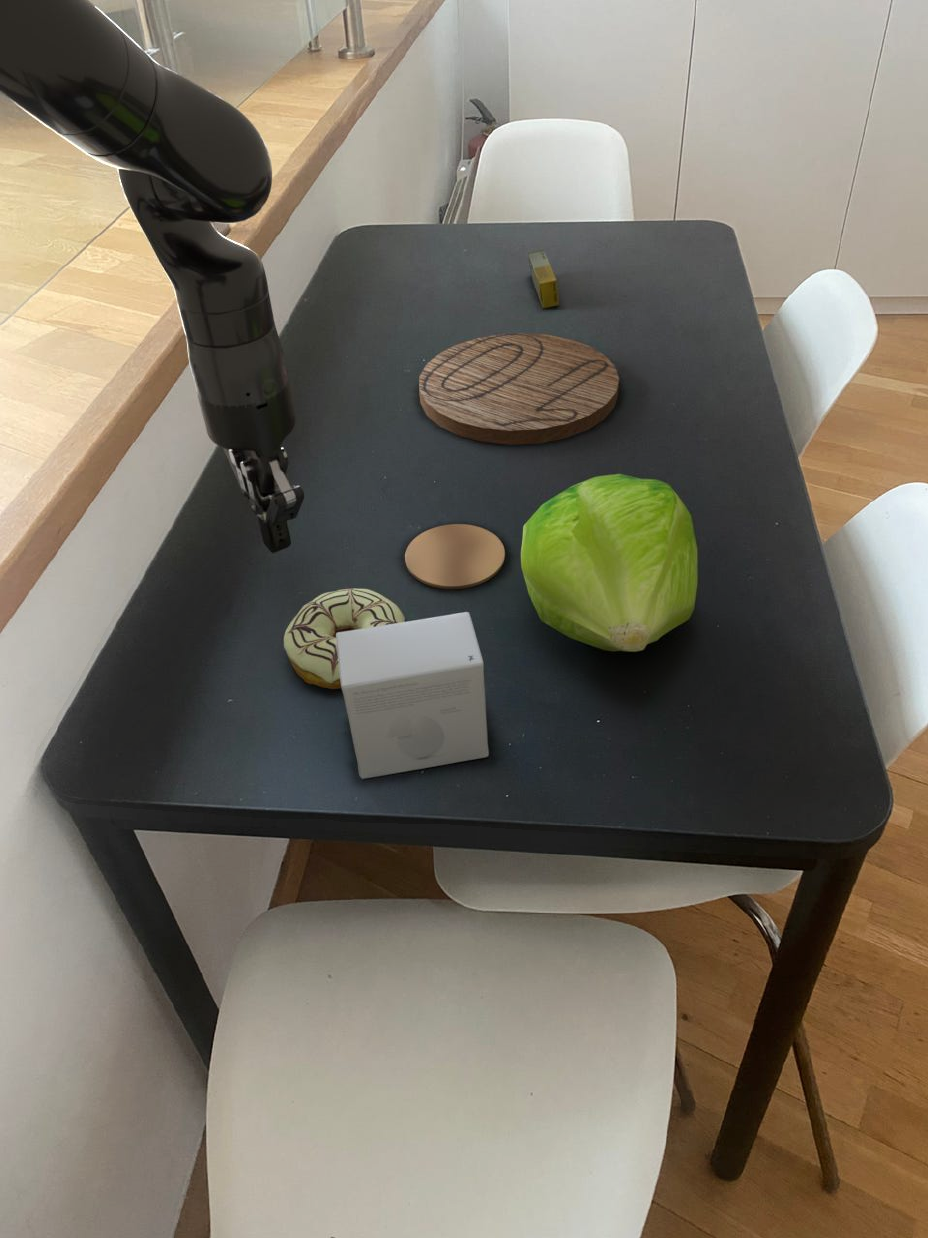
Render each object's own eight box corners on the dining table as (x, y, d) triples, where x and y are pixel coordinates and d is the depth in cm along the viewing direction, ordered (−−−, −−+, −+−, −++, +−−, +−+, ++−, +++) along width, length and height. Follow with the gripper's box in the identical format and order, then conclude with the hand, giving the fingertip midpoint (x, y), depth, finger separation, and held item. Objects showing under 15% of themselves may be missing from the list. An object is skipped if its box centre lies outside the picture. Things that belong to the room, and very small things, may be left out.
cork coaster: (424, 600, 88) (424, 597, 87) (392, 541, 94) (392, 538, 94) (520, 573, 90) (520, 569, 90) (482, 517, 97) (482, 514, 97)
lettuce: (551, 720, 76) (508, 584, 69) (545, 591, 93) (510, 471, 86) (731, 686, 73) (706, 540, 66) (692, 559, 90) (668, 431, 83)
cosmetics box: (474, 699, 78) (469, 607, 71) (489, 758, 73) (486, 665, 66) (351, 720, 77) (334, 628, 70) (359, 781, 72) (341, 689, 65)
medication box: (530, 277, 142) (527, 252, 140) (547, 274, 142) (545, 248, 140) (541, 308, 133) (539, 281, 131) (560, 305, 133) (558, 278, 131)
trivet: (653, 375, 118) (655, 362, 116) (549, 467, 103) (549, 452, 102) (493, 330, 129) (493, 318, 128) (379, 407, 115) (377, 394, 113)
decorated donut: (265, 653, 83) (257, 622, 81) (358, 597, 88) (353, 566, 86) (335, 714, 77) (328, 683, 75) (430, 650, 82) (427, 619, 80)
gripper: (169, 363, 78) (214, 527, 90) (231, 427, 70) (271, 598, 82) (250, 338, 81) (284, 500, 93) (318, 397, 73) (346, 566, 85)
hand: (278, 546), depth 87 cm, fingers closed
